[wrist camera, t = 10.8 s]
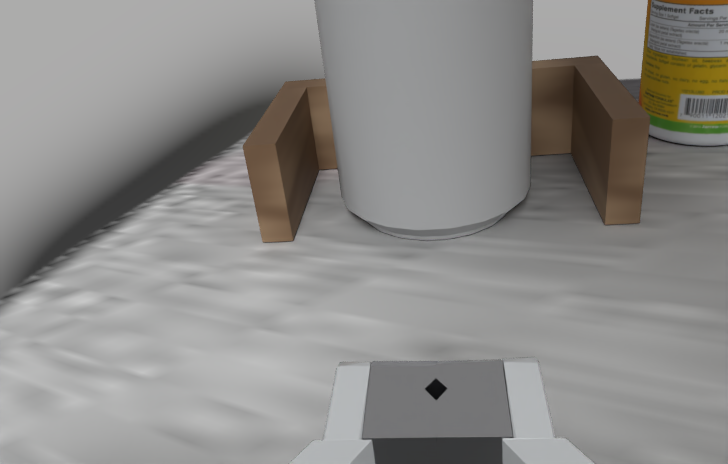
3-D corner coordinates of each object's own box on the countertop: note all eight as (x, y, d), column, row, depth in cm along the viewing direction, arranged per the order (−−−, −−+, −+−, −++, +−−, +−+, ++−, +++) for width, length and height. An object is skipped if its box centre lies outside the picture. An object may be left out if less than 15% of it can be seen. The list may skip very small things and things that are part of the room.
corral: (592, 141, 31) (597, 55, 29) (639, 222, 24) (650, 117, 22) (298, 161, 33) (285, 81, 31) (262, 242, 26) (242, 146, 24)
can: (319, 194, 29) (272, -112, 23) (469, 154, 31) (459, -136, 25) (388, 273, 23) (346, -119, 17) (570, 216, 25) (586, -150, 19)
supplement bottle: (696, 100, 34) (725, -111, 29) (793, 129, 30) (844, -114, 25) (612, 124, 32) (628, -95, 28) (700, 158, 28) (737, -96, 23)
